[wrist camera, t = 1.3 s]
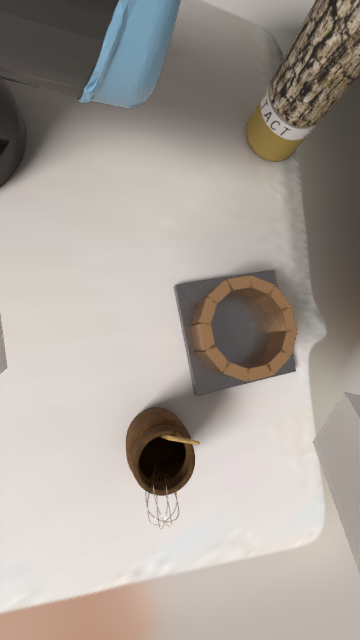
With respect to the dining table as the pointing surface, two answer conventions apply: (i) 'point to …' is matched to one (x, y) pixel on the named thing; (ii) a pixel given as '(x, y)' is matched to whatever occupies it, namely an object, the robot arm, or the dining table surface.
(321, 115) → the paper tube
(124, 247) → the dining table surface
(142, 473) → the utensil holder
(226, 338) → the collar plate
